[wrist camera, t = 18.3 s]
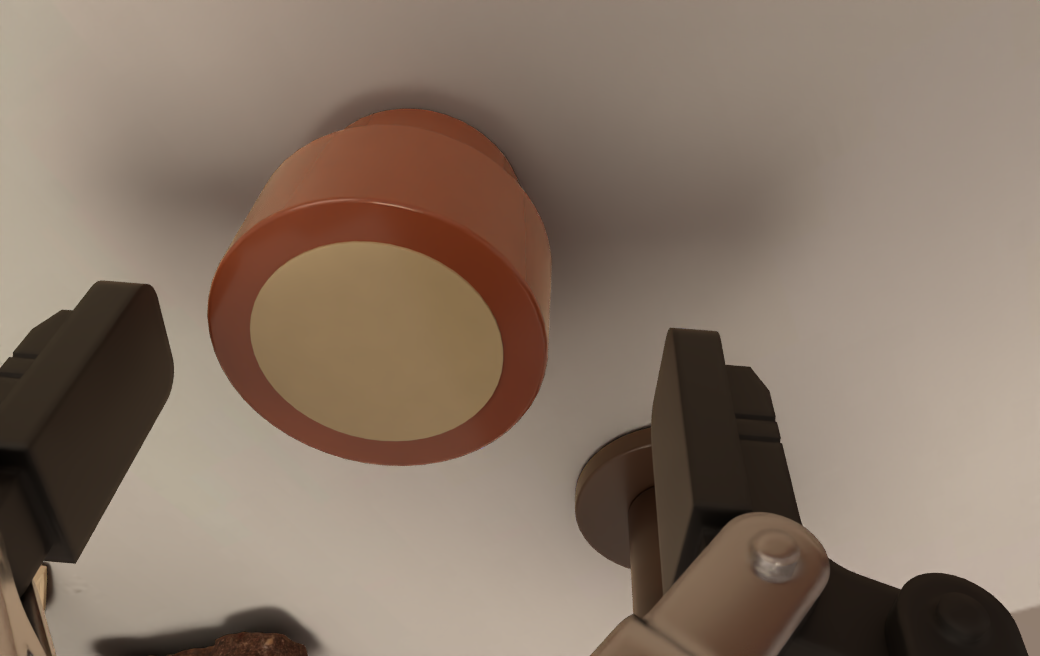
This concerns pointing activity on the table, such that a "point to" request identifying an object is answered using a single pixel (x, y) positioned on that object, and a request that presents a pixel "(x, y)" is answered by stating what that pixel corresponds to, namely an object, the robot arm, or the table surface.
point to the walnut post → (624, 513)
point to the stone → (249, 646)
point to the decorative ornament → (41, 584)
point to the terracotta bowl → (388, 293)
